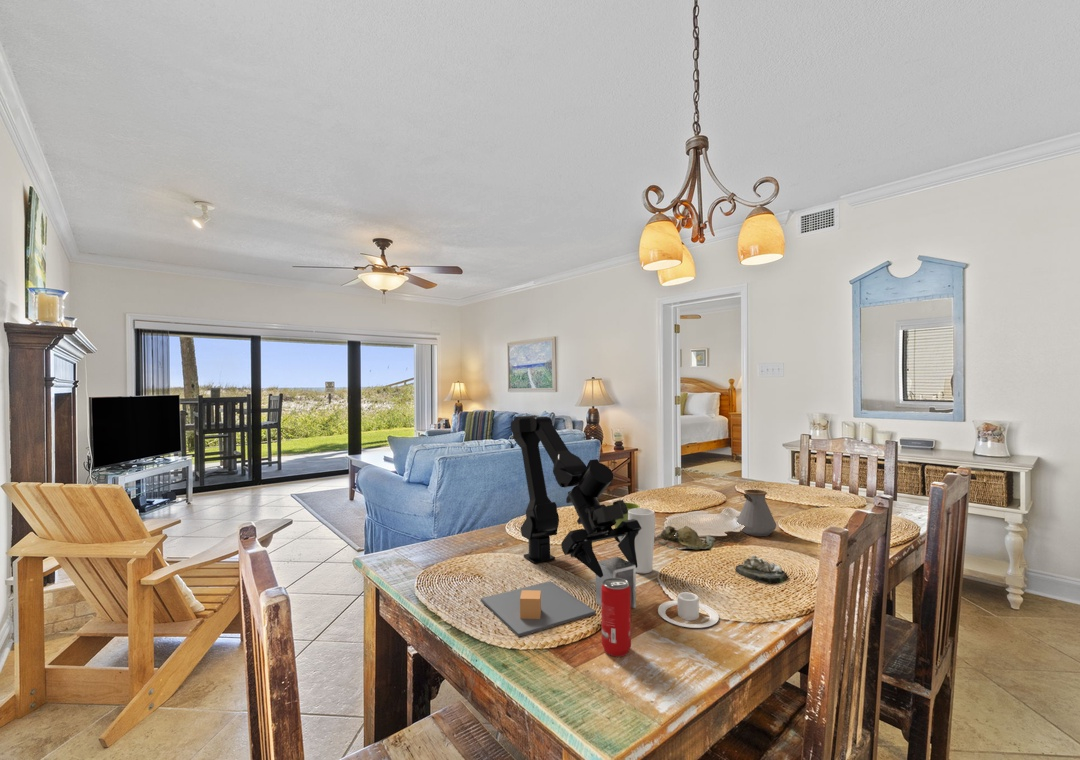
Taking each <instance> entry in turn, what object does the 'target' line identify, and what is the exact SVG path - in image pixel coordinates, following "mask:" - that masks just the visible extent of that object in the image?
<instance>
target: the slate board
mask: <svg viewBox="0 0 1080 760" xmlns="http://www.w3.org/2000/svg"><path fill="white" fill-rule="evenodd" d="M522 590H537V591H541V615H540V619H520V596H521V592H522ZM480 601H481V602H482V604H483V605H484V606H485V607H487V608H488V609H489V610H490V612H492V613H493V614H494V615H495V617H497V618H498V620H500V621H501V622H502V623H503V624H504V625H505V626H506V627H507V628H509V630H511V631H512V632H513V634H515V635H516V636H517V638H520V637H522V636H523V637H524V636H526V635H527V636H528V635H530V634H533V633H537V632H541V631H543V630H546V629H550V628H553V627H556V626H557V627H558V626H559V625H564V624H566V623H571V622H574V621H577V620H580V619H583V618H587V617H590V616H593V615H596V613H597V611H596V609H593V608H592V607H590V605H588V604H586V603H584V602H583V601H582V600H580V599H578V598H577V597H575V596H574V595H572V594H571V593H569V592H568V591H567V590H565V589H564V588H562V587H560V586H559V585H557V584H556V583H554V582H553V581H551V580H550V581H545V582H541V583H537V584H533V585H528V586H524V587H521V588H518V589H517V588H516V589H513V590H509V591H505V592H499V593H497V594H492V595H488V596H484V597H481V598H480Z"/></svg>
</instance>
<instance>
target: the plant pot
mask: <svg viewBox="0 0 1080 760" xmlns="http://www.w3.org/2000/svg"><path fill="white" fill-rule="evenodd" d="M624 503H625V504H626V506H627V509H628V511H629V510H630V509H633V508H641V506H640V505H639V504H637V503H633V502H626V501H624ZM610 505H613V503H611V504H610ZM623 516H624V518H623V519H617V520H615V521H616V524H615V525H614V526H613V527H614V528H617V527H618V526H619V524H620V523H621V522H622V521H626V520H628V513H627V514H624V515H623Z"/></svg>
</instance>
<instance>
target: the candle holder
mask: <svg viewBox="0 0 1080 760" xmlns="http://www.w3.org/2000/svg"><path fill="white" fill-rule="evenodd" d="M699 600H700V598H699V596H698V595H697V594H695V593H692V592H690V591H688V592H687V591H684V592H679V593H678V594H677V599H676V600H674V599H673V600H668V601H667V600H666V601H665V602H662V603H661V604H660V605H659V606H658V609H657V612H658V615H659V617H661V618H662V619H664V621H667V622H668V623H670V624H672V625H675V626H679V627H683V628H684V627H685V628H691V629H692V628H693V629H702V628H703V629H704V628H708V627H712V626H714V625H716V624H717V622H718V621H719V620H720V616H719V613H718V612H717V611H716V610H715V609H714V608H712V607H710V606H708V605H706V604H704V603H701V602H700V601H699ZM673 606H674V607H675V606H677V615H678V617H680V619H683V620H688V621H694V620H697V619H699V617H700V610H703V611H704V612H706V613H707V615H708V616H709V620H708V621H706V622H703V623H697V624H696V623H695V624H691V623H684V622H679V621H677V620H674V619H672V618H671V617H669V616H667V614H666V610H668V609H669V608H671V607H673ZM718 623H719V622H718Z"/></svg>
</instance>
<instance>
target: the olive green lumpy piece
mask: <svg viewBox="0 0 1080 760" xmlns="http://www.w3.org/2000/svg"><path fill="white" fill-rule="evenodd" d="M674 535H675V536H674ZM705 537H706V538H700V537H699V534H698V532H697V531H696V530H694V529H693V528H691V527H690V526H687V525H685V526H684V527H682V528H678V529H677V528H675V527H674V526H671V525H667V526H666V527H665V529H663V530H662V531H661V533H659V534H658V535H657V536H656V539H663V540H667V541H668V542H670V543H676V544H678V545H681V546H684V547H683V548H681V550H685V549H690V550H691V549H692V550H701V549H702V550H706V549H709V550H711V549H712V548H713V547H714V545H715V544H714V543H715V541H716V538H714V537H713V536H711V535H706V536H705ZM658 544H661V545H663V546H665V547H666V548H669V549H675V548H676V547H673V546H672V545H671V546H669V544H667V543H666V542H662V541H661V542H660V541H658ZM676 550H680V548H676Z"/></svg>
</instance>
